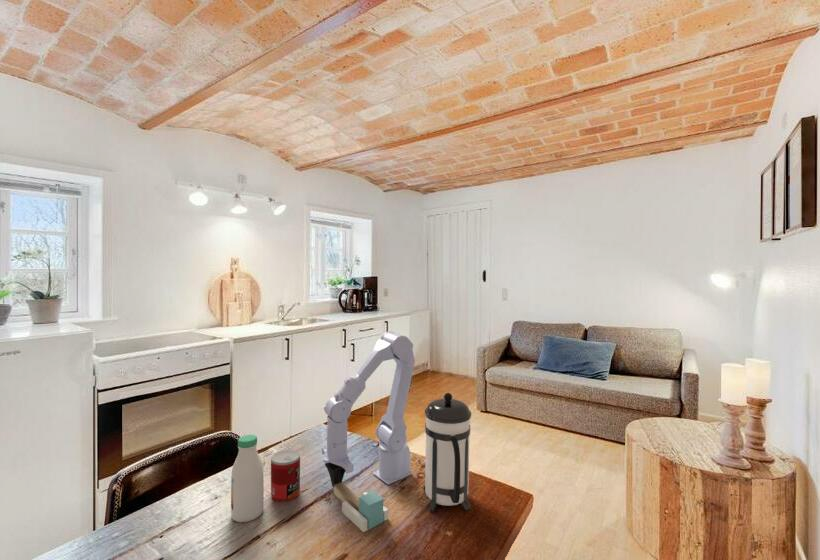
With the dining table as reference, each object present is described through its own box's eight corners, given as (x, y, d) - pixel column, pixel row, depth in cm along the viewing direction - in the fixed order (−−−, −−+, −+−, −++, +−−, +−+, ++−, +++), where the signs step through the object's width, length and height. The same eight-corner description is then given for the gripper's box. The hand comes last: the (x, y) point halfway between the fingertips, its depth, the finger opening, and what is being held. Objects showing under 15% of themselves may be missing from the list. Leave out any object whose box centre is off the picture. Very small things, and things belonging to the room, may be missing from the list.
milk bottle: (269, 508, 102) (269, 434, 101) (248, 526, 94) (248, 446, 94) (246, 501, 104) (246, 429, 104) (224, 519, 97) (224, 441, 96)
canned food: (291, 504, 103) (291, 464, 103) (265, 500, 105) (265, 461, 105) (304, 488, 111) (305, 451, 111) (279, 485, 112) (280, 448, 112)
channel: (366, 500, 105) (366, 491, 105) (388, 519, 98) (388, 509, 98) (341, 511, 100) (342, 502, 100) (363, 532, 93) (363, 522, 93)
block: (373, 513, 100) (373, 490, 100) (383, 522, 97) (383, 498, 96) (358, 520, 97) (359, 497, 97) (368, 529, 94) (368, 505, 94)
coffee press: (406, 501, 105) (407, 393, 104) (441, 478, 117) (443, 381, 116) (457, 531, 93) (459, 410, 93) (491, 502, 105) (493, 395, 104)
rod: (341, 490, 110) (342, 481, 110) (369, 515, 99) (369, 505, 99) (333, 494, 108) (333, 485, 108) (361, 519, 98) (361, 509, 98)
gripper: (312, 435, 112) (312, 480, 113) (337, 454, 101) (337, 504, 102) (334, 429, 117) (333, 472, 117) (360, 446, 106) (359, 494, 106)
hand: (336, 486), depth 110 cm, fingers closed
